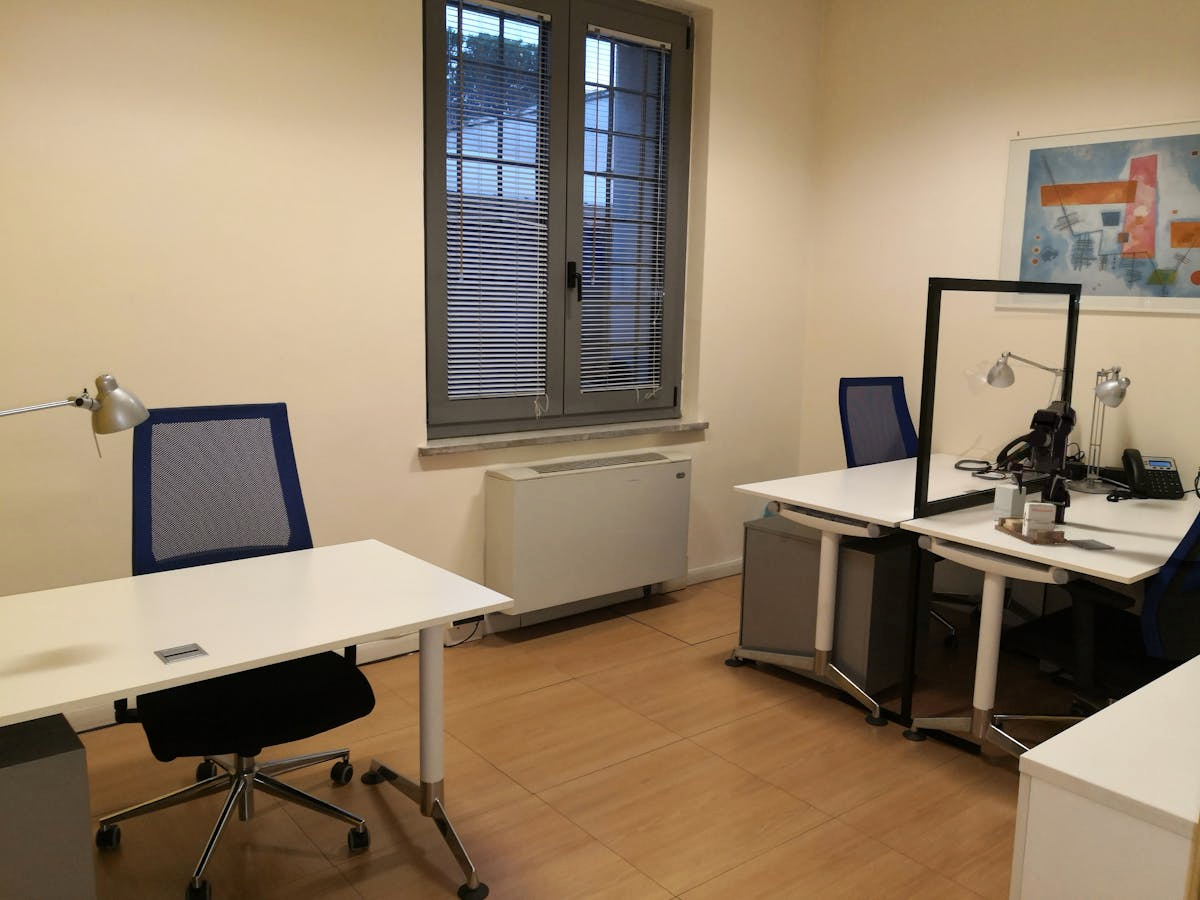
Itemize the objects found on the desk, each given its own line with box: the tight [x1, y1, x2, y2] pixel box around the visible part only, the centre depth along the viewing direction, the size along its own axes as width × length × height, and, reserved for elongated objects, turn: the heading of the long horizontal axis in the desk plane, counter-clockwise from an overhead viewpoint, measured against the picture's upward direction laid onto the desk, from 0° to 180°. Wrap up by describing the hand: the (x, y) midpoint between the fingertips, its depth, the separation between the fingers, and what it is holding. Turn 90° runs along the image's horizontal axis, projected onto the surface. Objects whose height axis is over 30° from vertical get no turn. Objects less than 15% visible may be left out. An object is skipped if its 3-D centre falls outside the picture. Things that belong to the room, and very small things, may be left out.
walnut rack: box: [994, 516, 1068, 545], centre depth 323 cm, size 12×20×4 cm, turn 12°
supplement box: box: [992, 483, 1027, 522], centre depth 344 cm, size 7×7×13 cm
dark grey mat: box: [1067, 538, 1116, 551], centre depth 314 cm, size 10×10×1 cm
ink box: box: [1022, 501, 1056, 539], centre depth 319 cm, size 9×5×12 cm, turn 84°
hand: (1035, 496), depth 317 cm, fingers open, 9 cm apart
